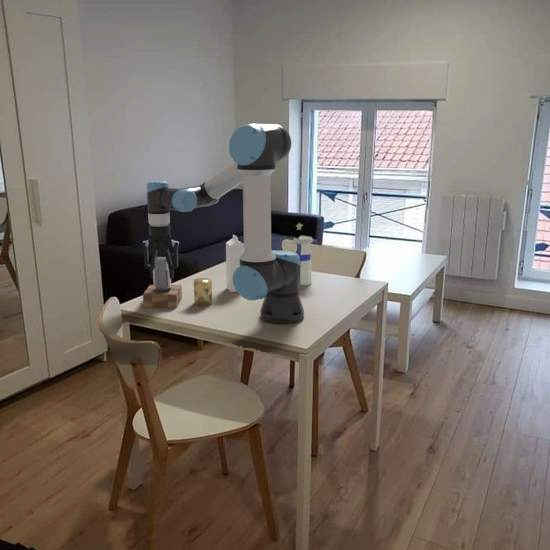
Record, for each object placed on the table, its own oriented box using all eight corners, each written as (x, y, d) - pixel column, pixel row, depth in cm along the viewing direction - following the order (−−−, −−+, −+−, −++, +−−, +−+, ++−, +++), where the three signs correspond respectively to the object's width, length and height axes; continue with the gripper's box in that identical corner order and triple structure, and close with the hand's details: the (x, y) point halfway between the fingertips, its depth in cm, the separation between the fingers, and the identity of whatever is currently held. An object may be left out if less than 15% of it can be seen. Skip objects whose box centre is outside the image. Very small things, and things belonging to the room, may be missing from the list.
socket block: (176, 307, 205) (176, 294, 203) (143, 307, 204) (142, 294, 203) (181, 297, 216) (181, 285, 215) (150, 297, 216) (149, 285, 215)
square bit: (167, 296, 208) (165, 259, 204) (156, 296, 208) (154, 259, 204) (169, 293, 211) (167, 256, 208) (158, 293, 211) (156, 256, 208)
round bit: (211, 306, 206) (210, 282, 204) (193, 306, 206) (192, 282, 204) (213, 300, 213) (212, 277, 210) (195, 300, 213) (194, 277, 210)
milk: (240, 286, 231) (240, 233, 225) (245, 290, 225) (245, 236, 219) (226, 288, 228) (225, 234, 223) (230, 292, 223) (230, 237, 217)
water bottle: (287, 283, 236) (288, 224, 229) (300, 278, 242) (301, 221, 236) (303, 286, 231) (304, 226, 224) (315, 282, 237) (317, 223, 230)
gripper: (185, 222, 206) (187, 284, 212) (137, 222, 206) (141, 283, 212) (182, 226, 199) (184, 289, 205) (132, 226, 199) (136, 289, 205)
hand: (162, 286), depth 209 cm, fingers open, 4 cm apart
